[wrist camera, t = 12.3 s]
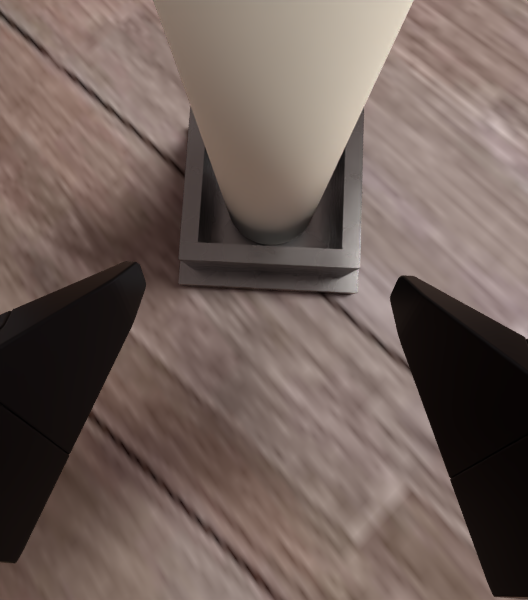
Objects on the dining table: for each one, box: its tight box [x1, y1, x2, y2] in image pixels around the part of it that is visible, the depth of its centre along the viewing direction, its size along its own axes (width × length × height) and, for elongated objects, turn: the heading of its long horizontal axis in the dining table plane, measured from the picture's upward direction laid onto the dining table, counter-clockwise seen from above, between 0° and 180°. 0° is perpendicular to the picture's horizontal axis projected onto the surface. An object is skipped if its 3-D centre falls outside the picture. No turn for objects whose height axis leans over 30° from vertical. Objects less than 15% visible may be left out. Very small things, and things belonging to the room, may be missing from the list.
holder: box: [178, 106, 364, 294], centre depth 16 cm, size 12×12×4 cm
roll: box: [153, 0, 413, 245], centre depth 10 cm, size 6×6×13 cm
